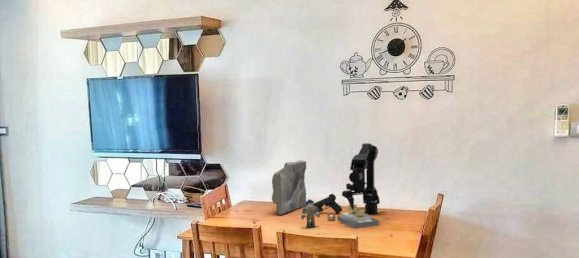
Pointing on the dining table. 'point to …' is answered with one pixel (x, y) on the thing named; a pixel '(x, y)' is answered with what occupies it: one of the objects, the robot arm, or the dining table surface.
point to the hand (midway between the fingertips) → (359, 208)
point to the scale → (357, 220)
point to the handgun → (328, 204)
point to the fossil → (289, 187)
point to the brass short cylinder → (352, 210)
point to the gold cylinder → (359, 212)
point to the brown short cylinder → (331, 217)
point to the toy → (310, 214)
